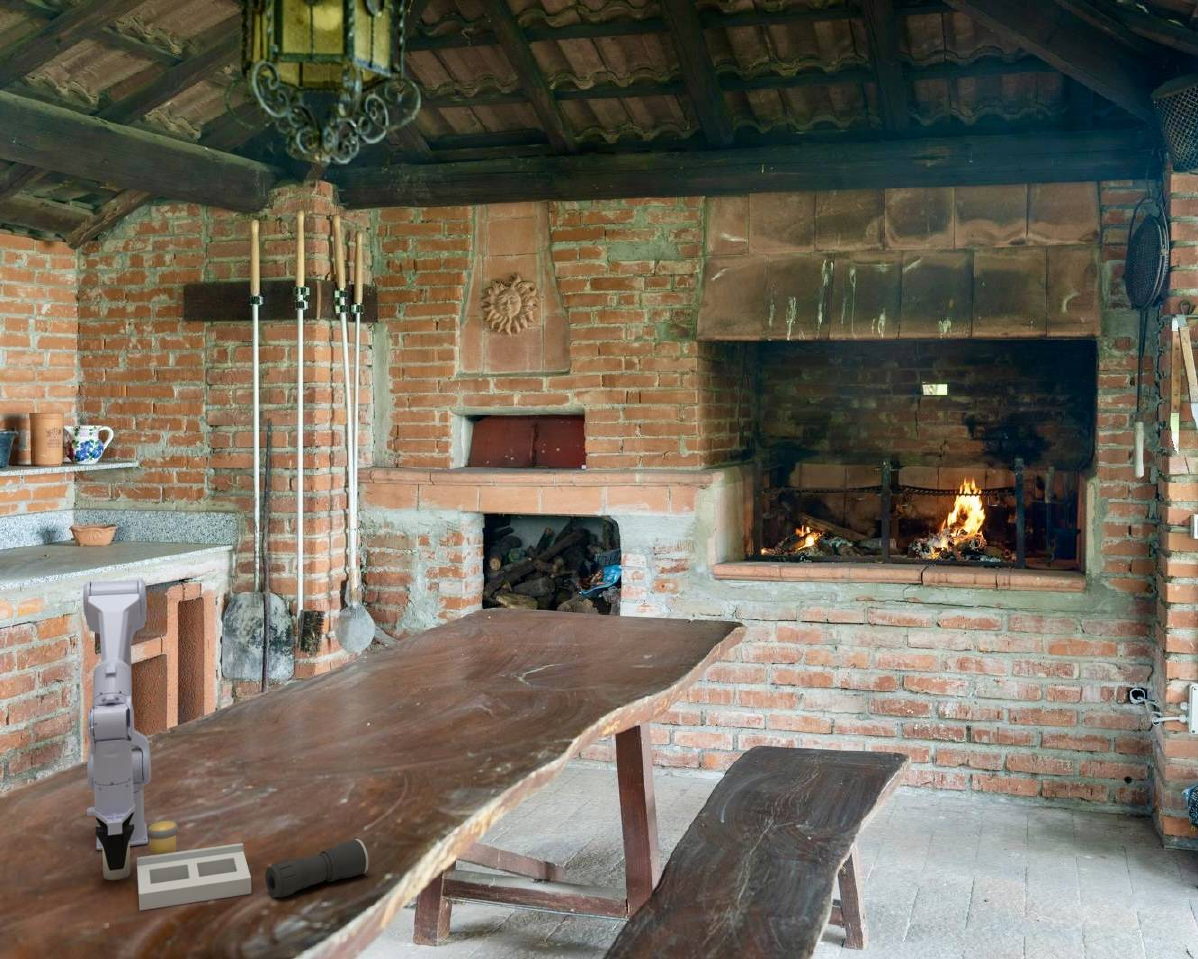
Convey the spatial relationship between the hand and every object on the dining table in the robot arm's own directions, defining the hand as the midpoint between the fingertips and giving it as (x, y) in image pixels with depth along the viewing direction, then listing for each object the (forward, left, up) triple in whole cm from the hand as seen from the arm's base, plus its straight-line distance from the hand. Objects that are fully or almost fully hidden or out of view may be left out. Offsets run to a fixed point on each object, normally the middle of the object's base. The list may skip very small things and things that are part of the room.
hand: (116, 863), depth 195 cm
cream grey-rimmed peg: (0, 0, -2) cm, 2 cm away
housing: (+9, +11, -2) cm, 14 cm away
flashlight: (+15, +29, -2) cm, 33 cm away
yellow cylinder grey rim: (0, +7, -2) cm, 7 cm away
